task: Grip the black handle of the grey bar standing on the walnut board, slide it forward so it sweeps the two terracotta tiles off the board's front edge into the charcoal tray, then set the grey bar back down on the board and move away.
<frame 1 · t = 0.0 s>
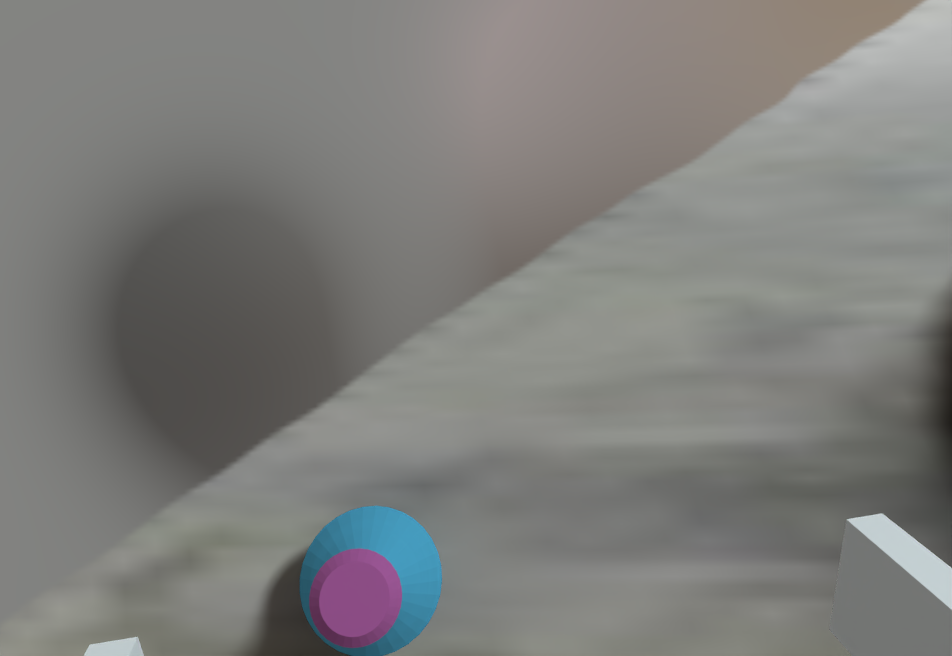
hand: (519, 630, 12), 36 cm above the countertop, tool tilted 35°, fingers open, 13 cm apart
perfume bottle: (376, 572, 45), on the countertop
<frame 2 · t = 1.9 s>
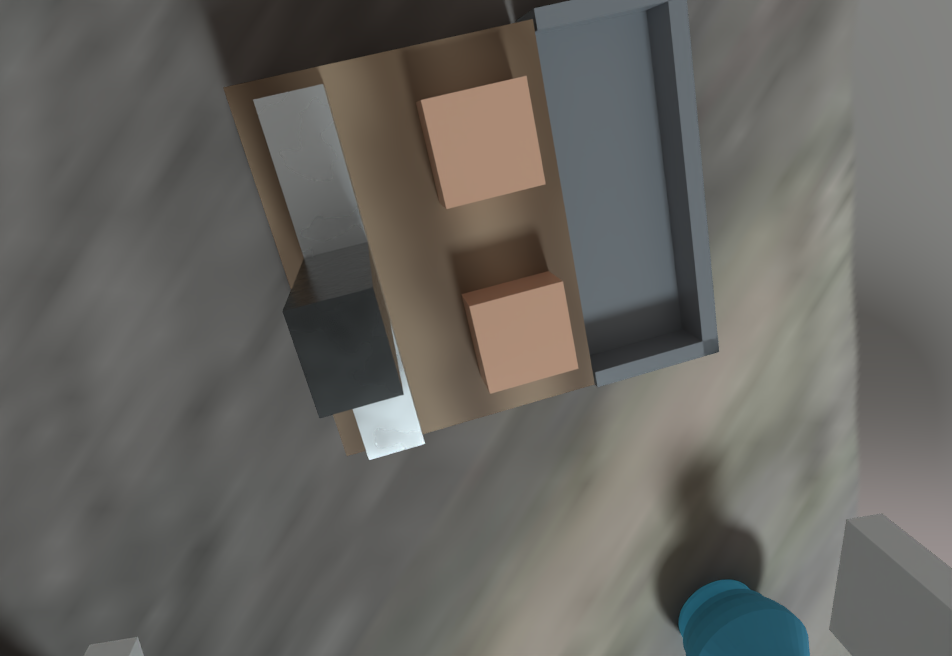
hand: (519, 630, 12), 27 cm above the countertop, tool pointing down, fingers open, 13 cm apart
grey bar: (348, 276, 32), point 4 cm above the countertop, touching board
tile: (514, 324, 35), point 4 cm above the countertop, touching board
tray: (612, 193, 38), on the countertop
perfume bottle: (715, 612, 50), on the countertop
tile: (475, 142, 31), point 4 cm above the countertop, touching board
board: (424, 242, 36), on the countertop
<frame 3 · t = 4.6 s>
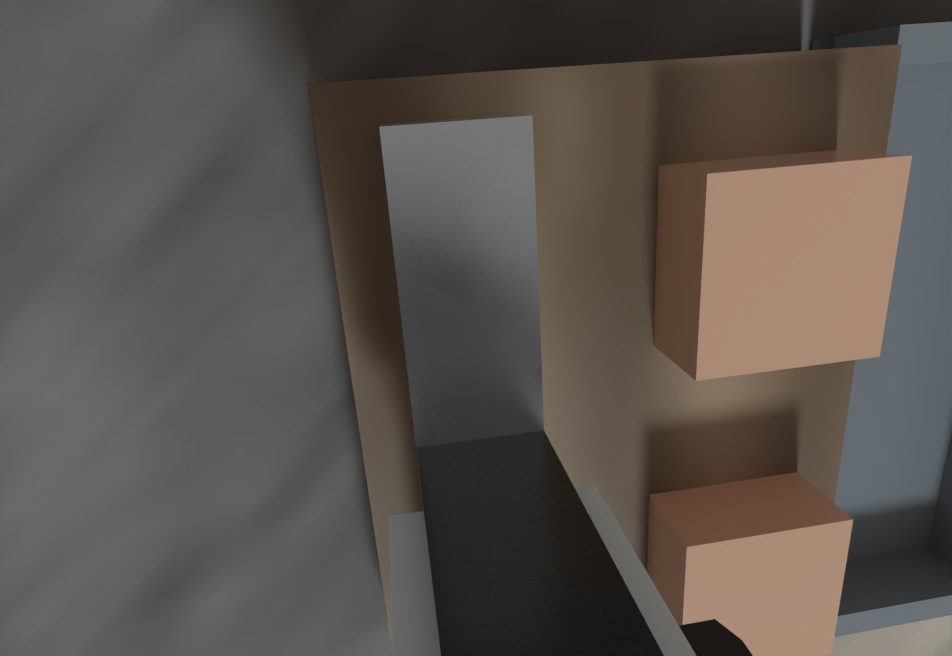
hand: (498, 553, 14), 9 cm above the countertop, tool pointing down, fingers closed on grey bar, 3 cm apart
grey bar: (469, 449, 18), point 4 cm above the countertop, touching board, gripper
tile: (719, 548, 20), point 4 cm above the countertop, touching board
tray: (878, 336, 23), on the countertop
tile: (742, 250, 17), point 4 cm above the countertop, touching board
board: (577, 375, 22), on the countertop
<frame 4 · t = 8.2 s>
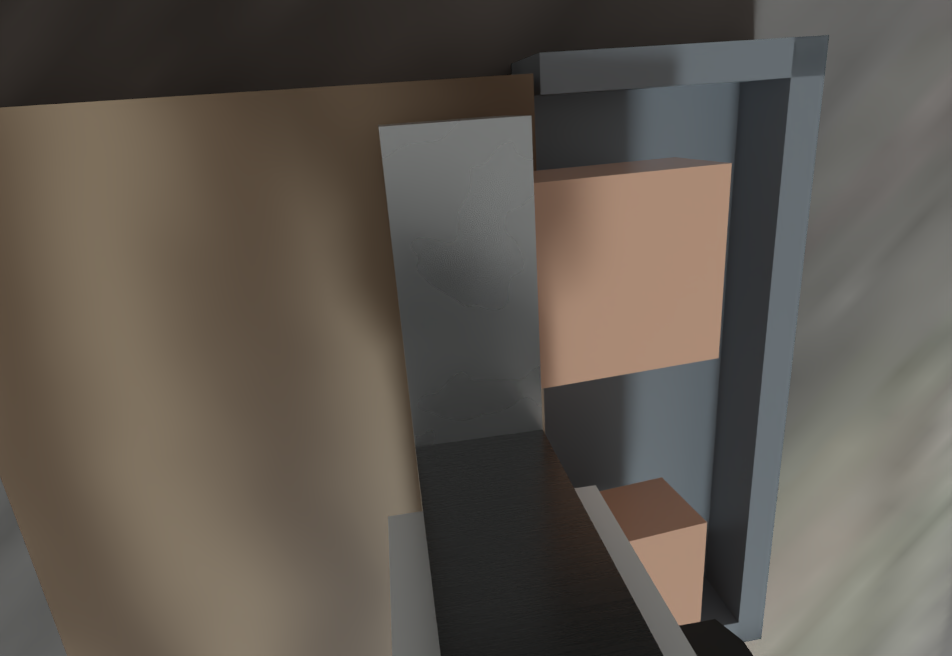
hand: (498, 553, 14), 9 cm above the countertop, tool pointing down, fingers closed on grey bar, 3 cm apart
grey bar: (467, 448, 18), point 5 cm above the countertop, touching gripper, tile
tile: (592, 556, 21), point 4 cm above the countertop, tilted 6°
tray: (630, 363, 23), on the countertop
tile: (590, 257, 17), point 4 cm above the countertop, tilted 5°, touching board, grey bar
board: (306, 404, 21), on the countertop
when the fingers open (9 cm above the countertop, at t = 12.0 s): grey bar stays where it is, resting on board.
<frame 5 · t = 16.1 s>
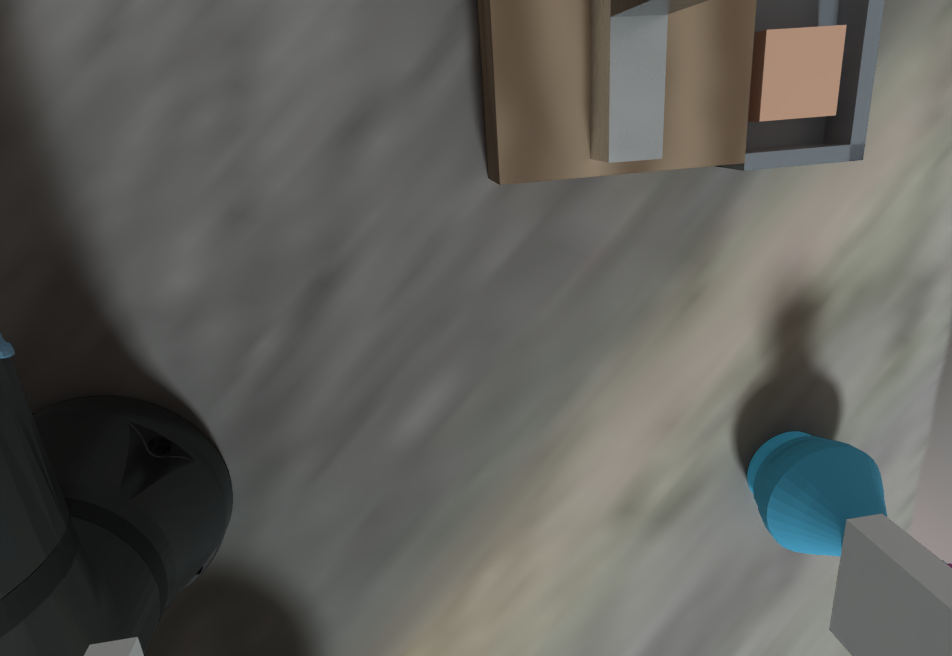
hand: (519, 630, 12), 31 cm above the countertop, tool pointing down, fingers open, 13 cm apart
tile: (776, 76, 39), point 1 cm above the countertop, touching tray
perfume bottle: (783, 466, 50), on the countertop
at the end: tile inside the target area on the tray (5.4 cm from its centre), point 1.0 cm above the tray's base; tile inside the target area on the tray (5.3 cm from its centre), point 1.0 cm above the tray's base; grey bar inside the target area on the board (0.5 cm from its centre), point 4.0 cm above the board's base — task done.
